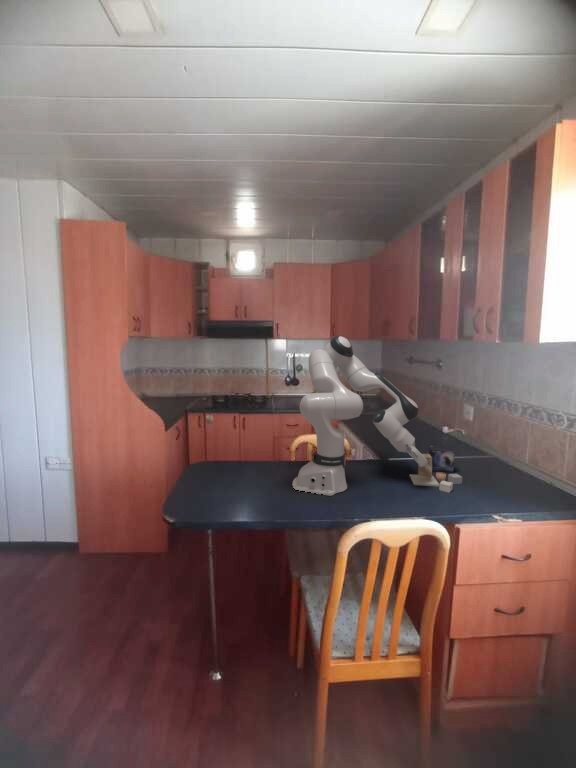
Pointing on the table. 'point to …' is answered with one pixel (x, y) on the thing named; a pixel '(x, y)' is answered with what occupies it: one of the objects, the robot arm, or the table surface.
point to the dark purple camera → (442, 458)
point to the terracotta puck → (440, 476)
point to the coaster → (423, 480)
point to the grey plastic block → (455, 478)
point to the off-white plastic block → (446, 486)
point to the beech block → (422, 470)
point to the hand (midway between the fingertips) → (426, 464)
